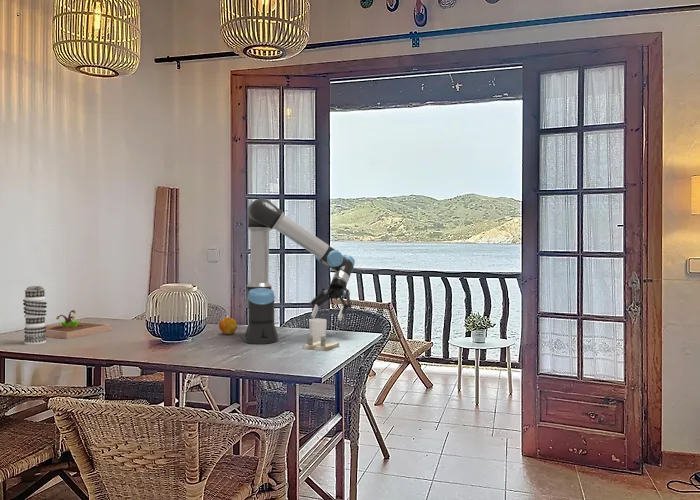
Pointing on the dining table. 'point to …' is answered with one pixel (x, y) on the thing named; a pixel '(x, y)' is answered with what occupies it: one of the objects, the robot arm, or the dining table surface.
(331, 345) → the board
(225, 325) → the fruit
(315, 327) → the white cup
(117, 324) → the dining table surface
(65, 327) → the plant
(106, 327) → the planter tray
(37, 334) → the decorative candle
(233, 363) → the dining table surface
